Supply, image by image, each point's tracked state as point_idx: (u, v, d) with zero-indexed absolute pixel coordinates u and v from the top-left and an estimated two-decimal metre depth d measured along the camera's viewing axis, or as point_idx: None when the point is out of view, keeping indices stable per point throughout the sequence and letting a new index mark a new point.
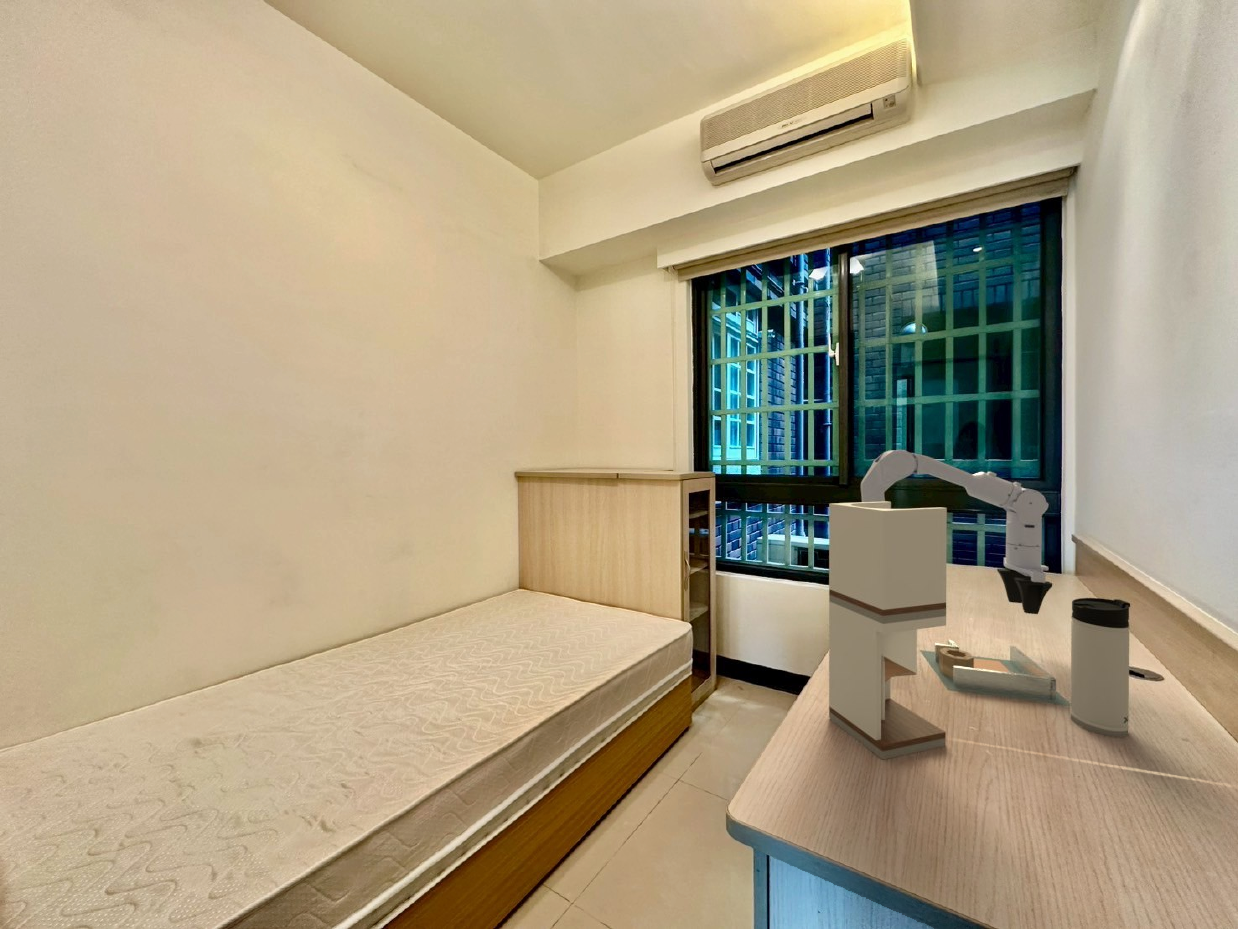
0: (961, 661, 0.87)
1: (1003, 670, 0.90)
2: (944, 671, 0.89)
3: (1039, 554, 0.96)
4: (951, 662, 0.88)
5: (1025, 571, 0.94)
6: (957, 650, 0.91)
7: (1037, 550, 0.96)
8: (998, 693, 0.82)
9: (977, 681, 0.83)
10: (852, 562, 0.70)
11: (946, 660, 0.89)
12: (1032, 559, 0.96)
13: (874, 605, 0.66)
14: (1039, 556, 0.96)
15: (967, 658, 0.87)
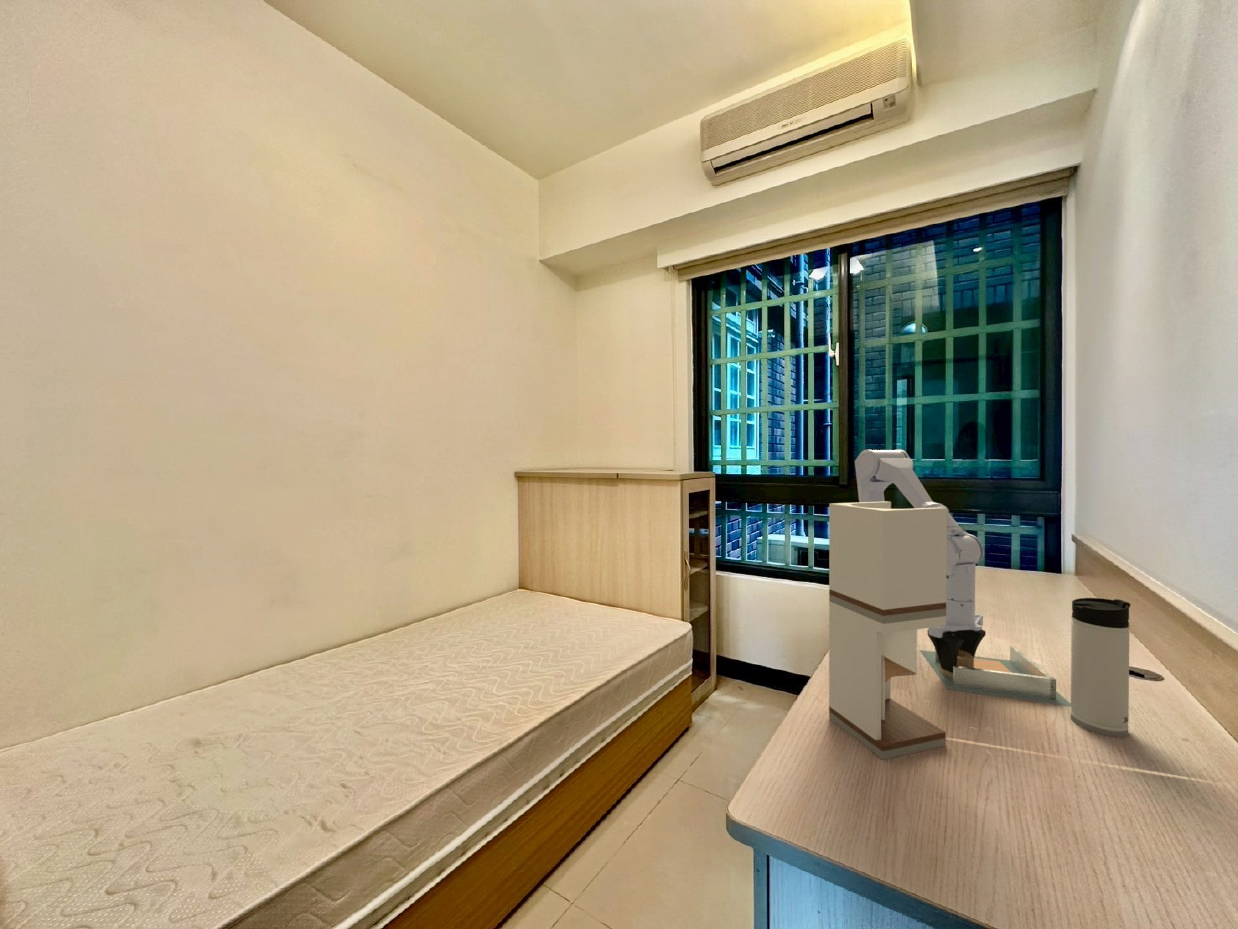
0: (961, 661, 0.87)
1: (1003, 670, 0.90)
2: (944, 671, 0.89)
3: (961, 610, 0.86)
4: None
5: None
6: None
7: (957, 605, 0.87)
8: (998, 693, 0.82)
9: (977, 681, 0.83)
10: (852, 562, 0.70)
11: None
12: (951, 614, 0.87)
13: (874, 605, 0.66)
14: (961, 612, 0.86)
15: (967, 658, 0.87)
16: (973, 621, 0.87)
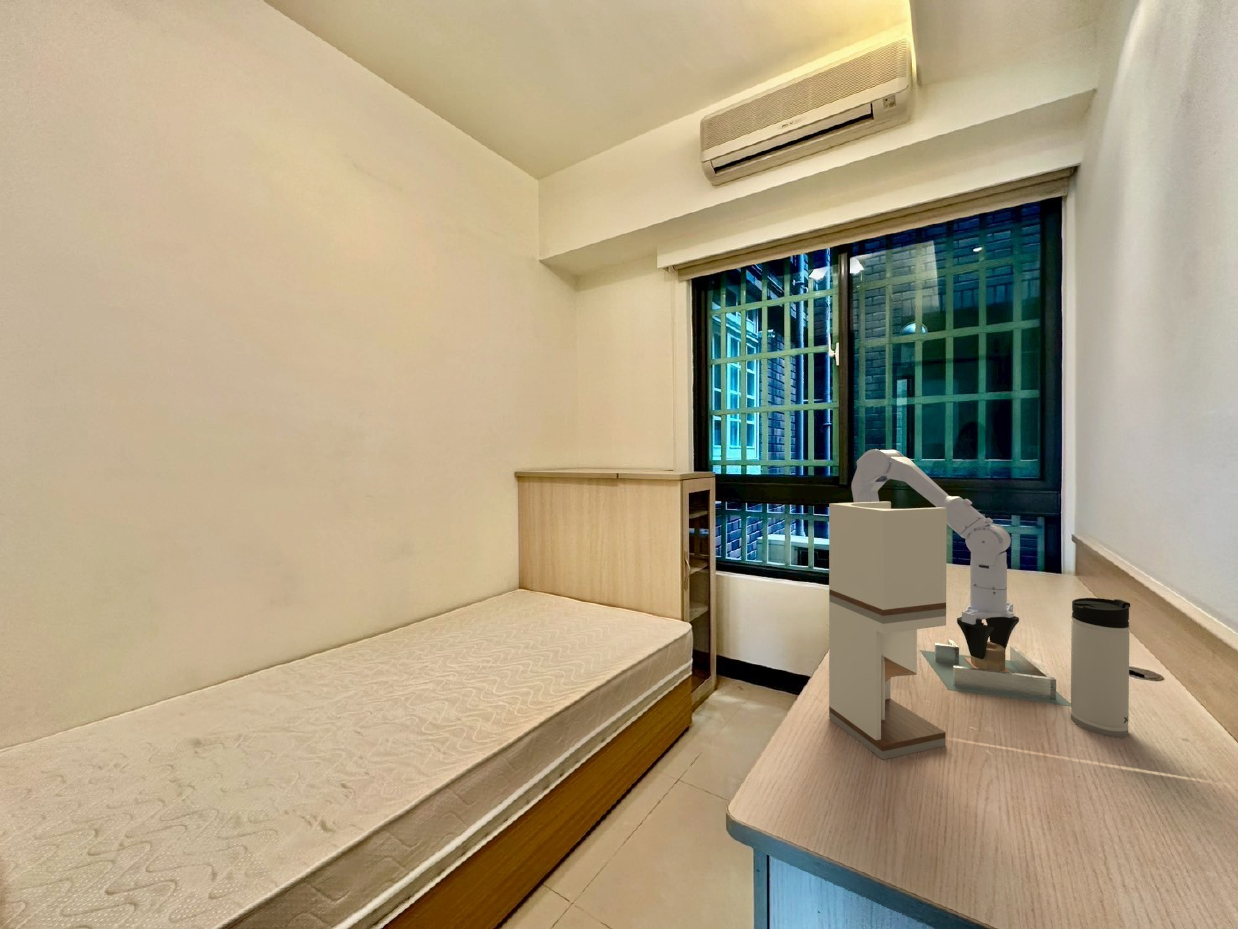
0: (993, 653, 0.90)
1: (1003, 670, 0.90)
2: (976, 663, 0.92)
3: (994, 598, 0.89)
4: None
5: None
6: (988, 642, 0.94)
7: (990, 593, 0.90)
8: (998, 693, 0.82)
9: (977, 681, 0.83)
10: (852, 562, 0.70)
11: None
12: (983, 602, 0.90)
13: (874, 605, 0.66)
14: (994, 600, 0.89)
15: (999, 650, 0.90)
16: (1005, 608, 0.90)
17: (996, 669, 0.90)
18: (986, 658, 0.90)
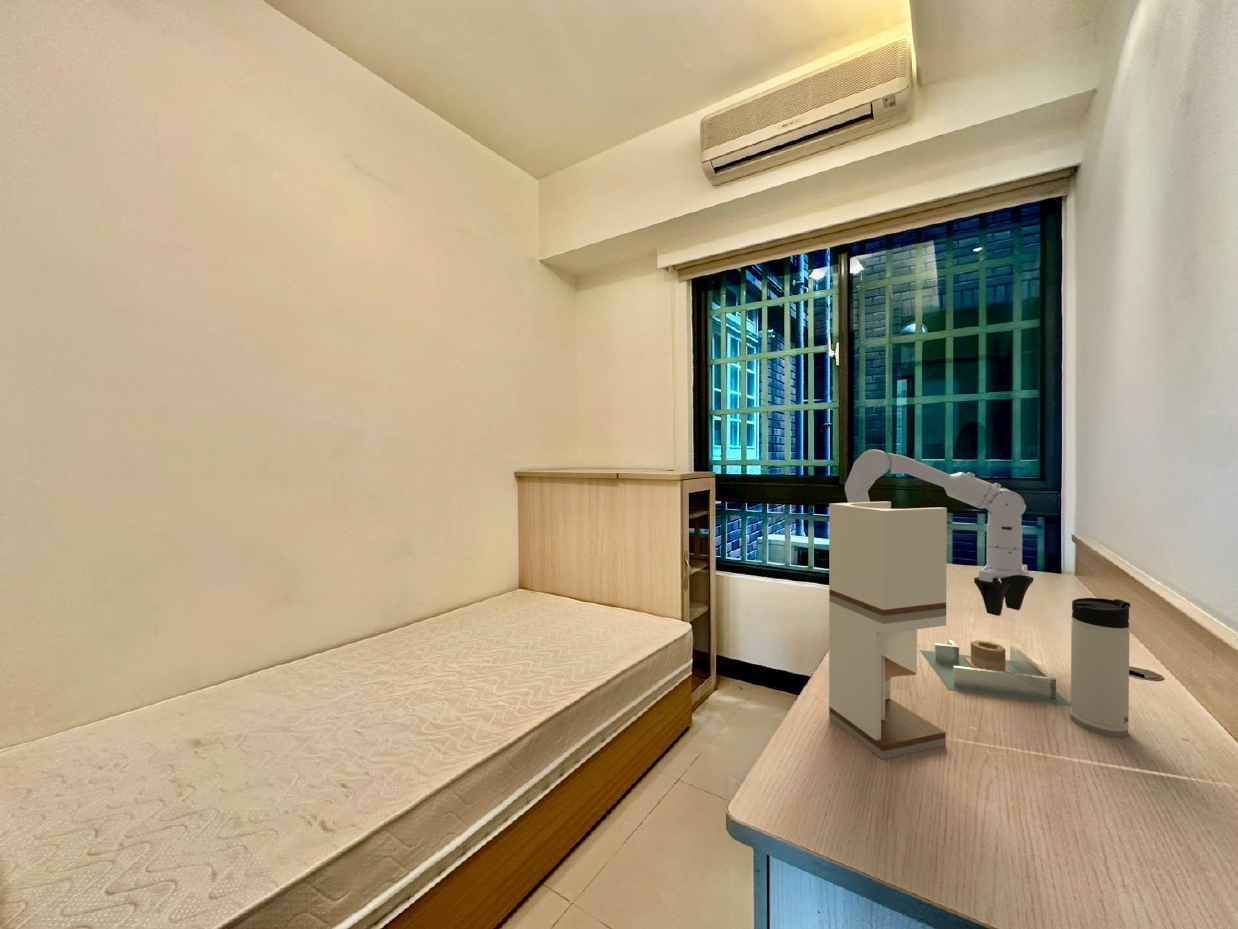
0: (993, 653, 0.90)
1: (1003, 670, 0.90)
2: (976, 663, 0.92)
3: (1010, 557, 0.94)
4: (984, 654, 0.90)
5: (982, 570, 0.95)
6: (988, 642, 0.94)
7: (1006, 552, 0.94)
8: (998, 693, 0.82)
9: (977, 681, 0.83)
10: (852, 562, 0.70)
11: (978, 652, 0.91)
12: (999, 561, 0.95)
13: (874, 605, 0.66)
14: (1010, 559, 0.94)
15: (999, 650, 0.90)
16: (1020, 567, 0.94)
17: (996, 669, 0.90)
18: (986, 658, 0.90)
